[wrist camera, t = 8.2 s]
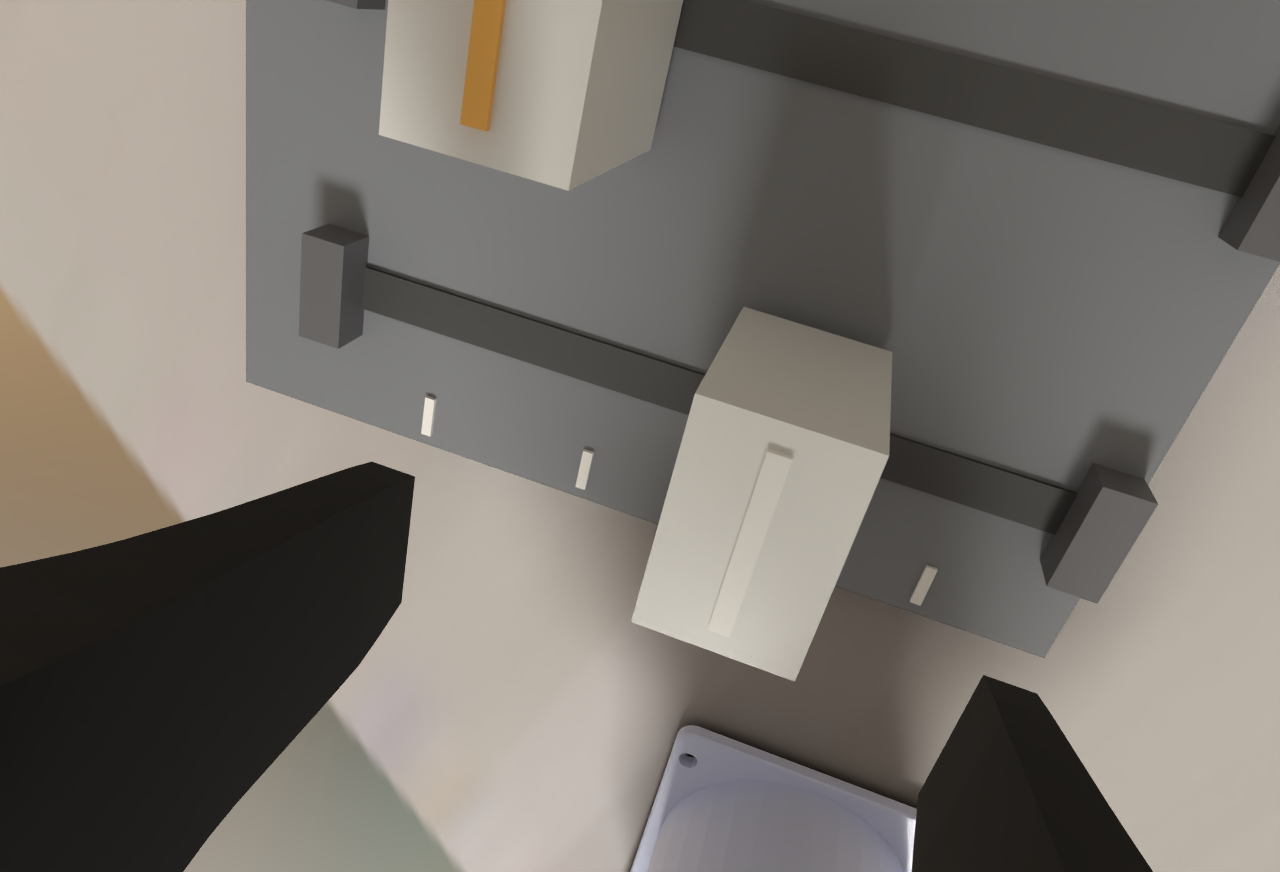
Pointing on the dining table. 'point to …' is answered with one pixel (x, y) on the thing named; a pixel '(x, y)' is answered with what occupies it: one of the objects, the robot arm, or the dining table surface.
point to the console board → (804, 263)
